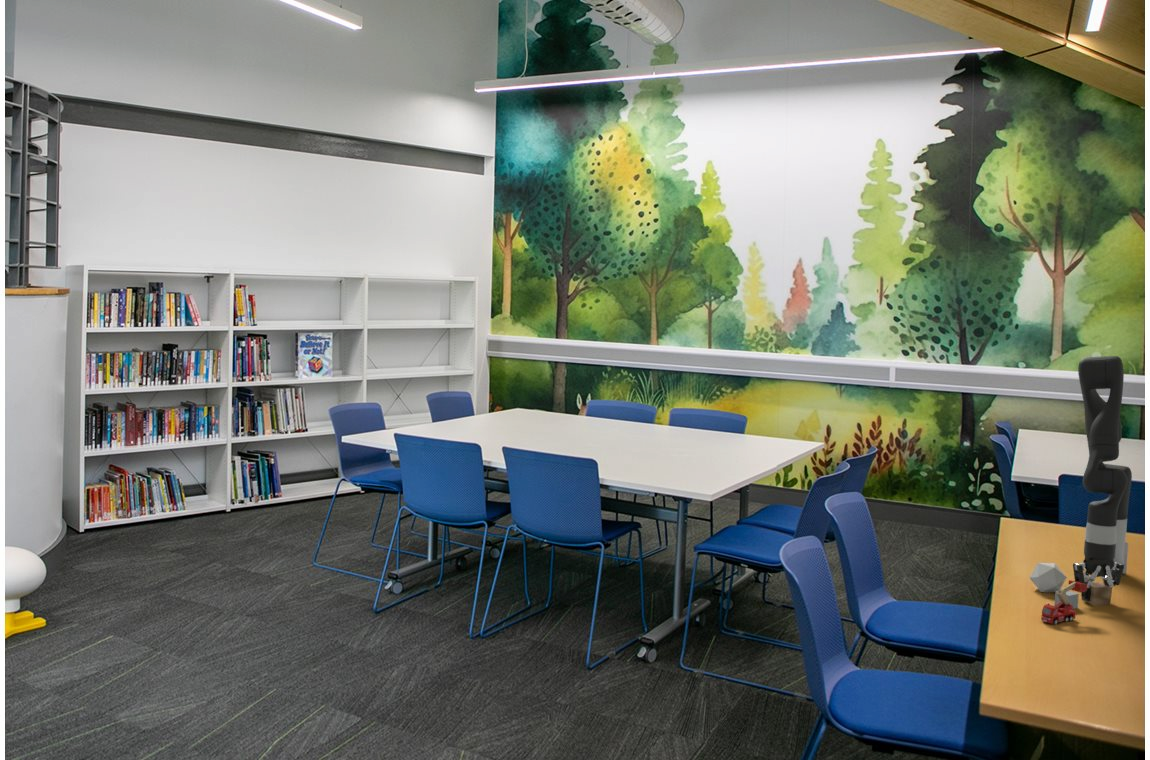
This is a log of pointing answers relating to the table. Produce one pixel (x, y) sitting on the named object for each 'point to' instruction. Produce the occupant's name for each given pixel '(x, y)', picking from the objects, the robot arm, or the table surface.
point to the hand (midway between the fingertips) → (1095, 599)
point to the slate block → (1072, 599)
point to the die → (1047, 577)
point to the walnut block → (1099, 594)
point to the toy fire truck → (1062, 605)
